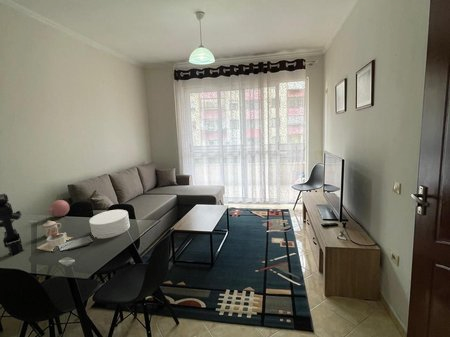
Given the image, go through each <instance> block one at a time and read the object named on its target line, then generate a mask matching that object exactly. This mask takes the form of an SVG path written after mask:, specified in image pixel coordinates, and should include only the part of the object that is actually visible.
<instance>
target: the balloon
mask: <svg viewBox="0 0 450 337" xmlns="http://www.w3.org/2000/svg"><path fill="white" fill-rule="evenodd" d="M69 211H70V204H69V203H68V202H67V201H66V200H63V199H59V200H55V201H53V202H52V203H51V204H50V207H49V208H48V209H47V210H46V211H45V213H49V214H50V213H51V215H53V216H54V217H56V218H57V217H58V218H59V217H60V218H61V217H63V216H66V215H67V214H68V213H69Z"/></svg>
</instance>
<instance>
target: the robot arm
mask: <svg viewBox="0 0 450 337" xmlns="http://www.w3.org/2000/svg"><path fill="white" fill-rule="evenodd" d="M21 216H22V212H21V210H17V211H16V212H14V211H13V208H12V205H11V203H9V198H8V194H6V193H1V194H0V228H4V229H5V232H3V236H4V237H3V240H2V242H3V246H4V247H5V248H6V249H8V255H10V256H11V255H12V256H15V255H17V254H19V253H22V252H23V251H25V250H24V248H23V244H22V239H21V236H20V233H18V232H17V229H16V228H14V227H13V223H14V222H15V220H16V221H18V220H19V219H21Z"/></svg>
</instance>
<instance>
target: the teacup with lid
mask: <svg viewBox="0 0 450 337" xmlns="http://www.w3.org/2000/svg"><path fill="white" fill-rule="evenodd" d="M58 225H59V226H58ZM61 227H62V224H61V223H60V222H56V221H52V220H47V222H45V223H43V225H42V228H43V232H44V235H45V237H47V238H48V237H50V236H51V235H52V234H54V233H59V229H61Z"/></svg>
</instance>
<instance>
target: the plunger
mask: <svg viewBox="0 0 450 337" xmlns="http://www.w3.org/2000/svg"><path fill="white" fill-rule="evenodd" d="M59 233H60V232H58V233H54V234H52V235H51V237H52V238H55V239H57V237H58V236H59V235H60V234H59Z"/></svg>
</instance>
